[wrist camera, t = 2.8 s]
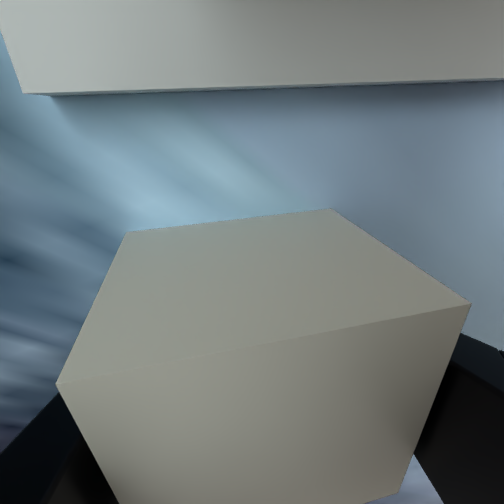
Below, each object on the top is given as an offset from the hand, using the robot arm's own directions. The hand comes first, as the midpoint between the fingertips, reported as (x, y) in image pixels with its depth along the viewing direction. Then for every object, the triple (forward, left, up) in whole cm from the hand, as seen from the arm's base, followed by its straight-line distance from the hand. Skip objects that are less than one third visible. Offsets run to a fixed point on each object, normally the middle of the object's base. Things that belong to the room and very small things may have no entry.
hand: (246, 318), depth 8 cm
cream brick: (0, 0, -1) cm, 1 cm away
